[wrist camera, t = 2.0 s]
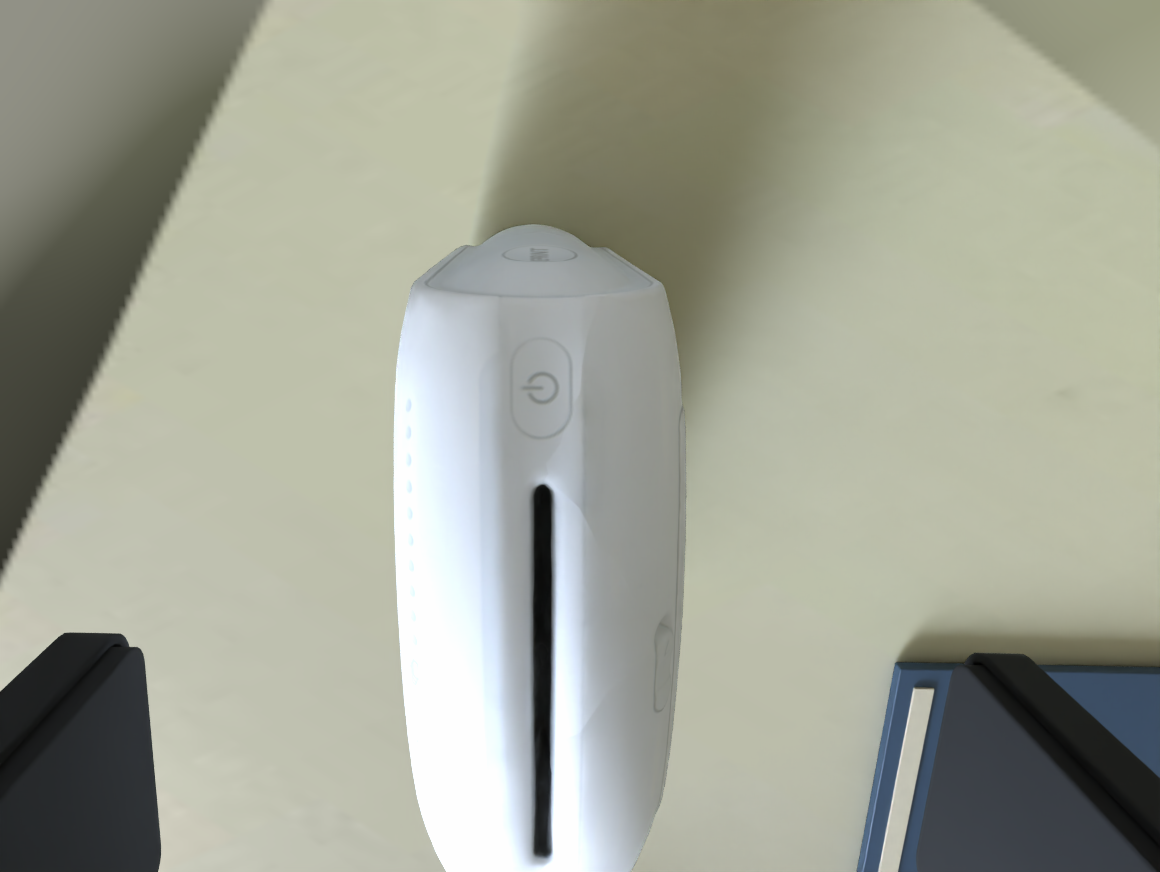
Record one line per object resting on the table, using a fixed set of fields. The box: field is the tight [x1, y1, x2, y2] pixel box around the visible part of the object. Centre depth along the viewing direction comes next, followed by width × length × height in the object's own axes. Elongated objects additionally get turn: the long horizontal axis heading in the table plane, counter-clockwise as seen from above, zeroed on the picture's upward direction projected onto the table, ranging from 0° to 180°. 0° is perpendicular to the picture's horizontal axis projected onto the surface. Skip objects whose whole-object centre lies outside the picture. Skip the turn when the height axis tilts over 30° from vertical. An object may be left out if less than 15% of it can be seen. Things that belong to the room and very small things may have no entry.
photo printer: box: [394, 224, 686, 872], centre depth 17 cm, size 10×4×12 cm, turn 179°
